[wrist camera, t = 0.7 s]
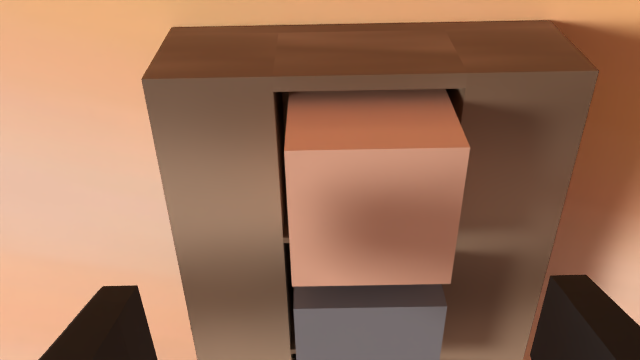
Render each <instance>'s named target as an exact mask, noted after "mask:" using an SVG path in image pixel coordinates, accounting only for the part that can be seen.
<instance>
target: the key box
mask: <svg viewBox="0 0 640 360" xmlns="http://www.w3.org/2000/svg"><path fill="white" fill-rule="evenodd" d="M598 73H599V70H598V69H597V68H596V67H595V66H594V65H593V64H592V63H591V62H590V61H589V60H588V59H587V58H586V57H585V56H584V55H583V54H582V53H581V52H580V51H579V50H578V49H577V48H576V47H575V46H574V45H573V44H572V43H571V42H570V41H569V40H568V39H567V37H566V36H565V35H564V34H563V33H562V32H561V31H560V30H559V29H558V28H557V27H556V26H555V25H554V24H553V23H552V22H551V21H550V20H548V21H495V22H441V23H387V24H334V25H280V26H227V27H173V28H171V29H170V31H169V33H168V34H167V36H166V38H165V40H164V41H163V43H162V45H161V46H160V48H159V50H158V52H157V53H156V55H155V57H154V58H153V60H152V62H151V64H150V65H149V67H148V69H147V70H146V72H145V74H144V76H143V77H142V84H143V89H144V94H145V99H146V104H147V109H148V114H149V119H150V124H151V129H152V134H153V139H154V144H155V149H156V154H157V159H158V164H159V169H160V174H161V179H162V184H163V189H164V195H165V200H166V205H167V210H168V215H169V220H170V225H171V230H172V235H173V240H174V245H175V250H176V255H177V260H178V265H179V270H180V275H181V280H182V285H183V290H184V295H185V300H186V305H187V310H188V315H189V320H190V325H191V330H192V335H193V340H194V345H195V350H196V355H197V360H296V345H295V328H294V311H293V307H294V287H292V277H291V260H290V243H289V226H288V209H287V192H286V175H285V158H284V146H285V134H286V122H287V110H288V98H289V92H293V91H348V90H403V89H446V91H447V94H448V96H449V98H450V101H451V103H452V105H453V108H454V110H455V113H456V115H457V117H458V120H459V122H460V124H461V127H462V129H463V131H464V134H465V136H466V139H467V141H468V143H469V146H470V153H469V160H468V167H467V173H466V180H465V187H464V194H463V201H462V208H461V215H460V222H459V229H458V236H457V243H456V250H455V256H454V263H453V270H452V277H451V284H442V287H443V291H444V295H445V299H446V303H447V312H446V319H445V326H444V333H443V339H442V346H441V353H440V360H523V358H524V354H525V350H526V346H527V343H528V339H529V335H530V331H531V327H532V324H533V320H534V316H535V312H536V308H537V305H538V301H539V297H540V293H541V289H542V286H543V282H544V278H545V274H546V270H547V267H548V263H549V259H550V255H551V251H552V247H553V244H554V240H555V236H556V232H557V228H558V225H559V221H560V217H561V213H562V209H563V206H564V202H565V198H566V194H567V190H568V187H569V183H570V179H571V175H572V171H573V168H574V164H575V160H576V156H577V152H578V149H579V145H580V141H581V137H582V133H583V130H584V126H585V122H586V118H587V114H588V111H589V107H590V103H591V99H592V95H593V92H594V88H595V84H596V80H597V76H598Z"/></svg>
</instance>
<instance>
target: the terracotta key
mask: <svg viewBox="0 0 640 360" xmlns="http://www.w3.org/2000/svg"><path fill="white" fill-rule="evenodd" d="M469 153H470V146H469V143H468V141H467V139H466V136H465V134H464V131H463V129H462V127H461V124H460V122H459V120H458V117H457V115H456V113H455V110H454V108H453V105H452V103H451V101H450V98H449V96H448V94H447V91H446V89H403V90H348V91H293V92H289V98H288V110H287V122H286V134H285V146H284V158H285V175H286V192H287V209H288V226H289V243H290V260H291V277H292V287H294V286H353V285H412V284H451V277H452V270H453V263H454V256H455V250H456V243H457V236H458V229H459V222H460V215H461V208H462V201H463V194H464V187H465V180H466V173H467V167H468V160H469Z"/></svg>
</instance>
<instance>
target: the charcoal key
mask: <svg viewBox="0 0 640 360" xmlns="http://www.w3.org/2000/svg"><path fill="white" fill-rule="evenodd" d="M293 311H294V328H295V345H296V360H440V353H441V346H442V339H443V333H444V326H445V319H446V312H447V303H446V299H445V295H444V291H443V287H442V284H412V285H353V286H294V307H293Z"/></svg>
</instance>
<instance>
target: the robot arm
mask: <svg viewBox="0 0 640 360" xmlns="http://www.w3.org/2000/svg"><path fill="white" fill-rule="evenodd" d="M530 356H531V360H640V326H639V325H638V324H637V323H636V322H635V321H634V320H633V319H632V318H631V317H630V316H629V315H627V314H626V313H625V312H624V311H623V310H622V309H621V308H620V307H619V306H618V305H617V304H616V303H615V302H614V301H613V300H612V299H611V298H610V297H609V296H608V295H607V294H606V293H605V292H604V291H603V290H601V289H600V288H599V287H598V286H597V285H596V284H595V283H594V282H593V281H592V280H591V279H590V278H589V277H588V276H587V275H557V276H550V279H549V283H548V287H547V291H546V295H545V299H544V303H543V307H542V311H541V314H540V318H539V322H538V326H537V330H536V334H535V338H534V342H533V345H532V349H531V353H530ZM39 360H157V356H156V352H155V349H154V345H153V341H152V338H151V334H150V330H149V327H148V323H147V319H146V315H145V312H144V308H143V304H142V301H141V297H140V293H139V290H138V286H103V287H102V288H101V289H100V290H99V291H98V292H97V293H96V294H95V295H94V296H93V298H92V299H91V300H90V301H89V302H88V303H87V304H86V306H85V307H84V308H83V309H82V310H81V311H80V313H79V314H78V315H77V316H76V317H75V318H74V320H73V321H72V322H71V323H70V324H69V325H68V327H67V328H66V329H65V330H64V331H63V332H62V334H61V335H60V336H59V337H58V338H57V339H56V340H55V342H54V343H53V344H52V345H51V346H50V347H49V349H48V350H47V351H46V352H45V353H44V354H43V355H42V356H41V358H40V359H39Z"/></svg>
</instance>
